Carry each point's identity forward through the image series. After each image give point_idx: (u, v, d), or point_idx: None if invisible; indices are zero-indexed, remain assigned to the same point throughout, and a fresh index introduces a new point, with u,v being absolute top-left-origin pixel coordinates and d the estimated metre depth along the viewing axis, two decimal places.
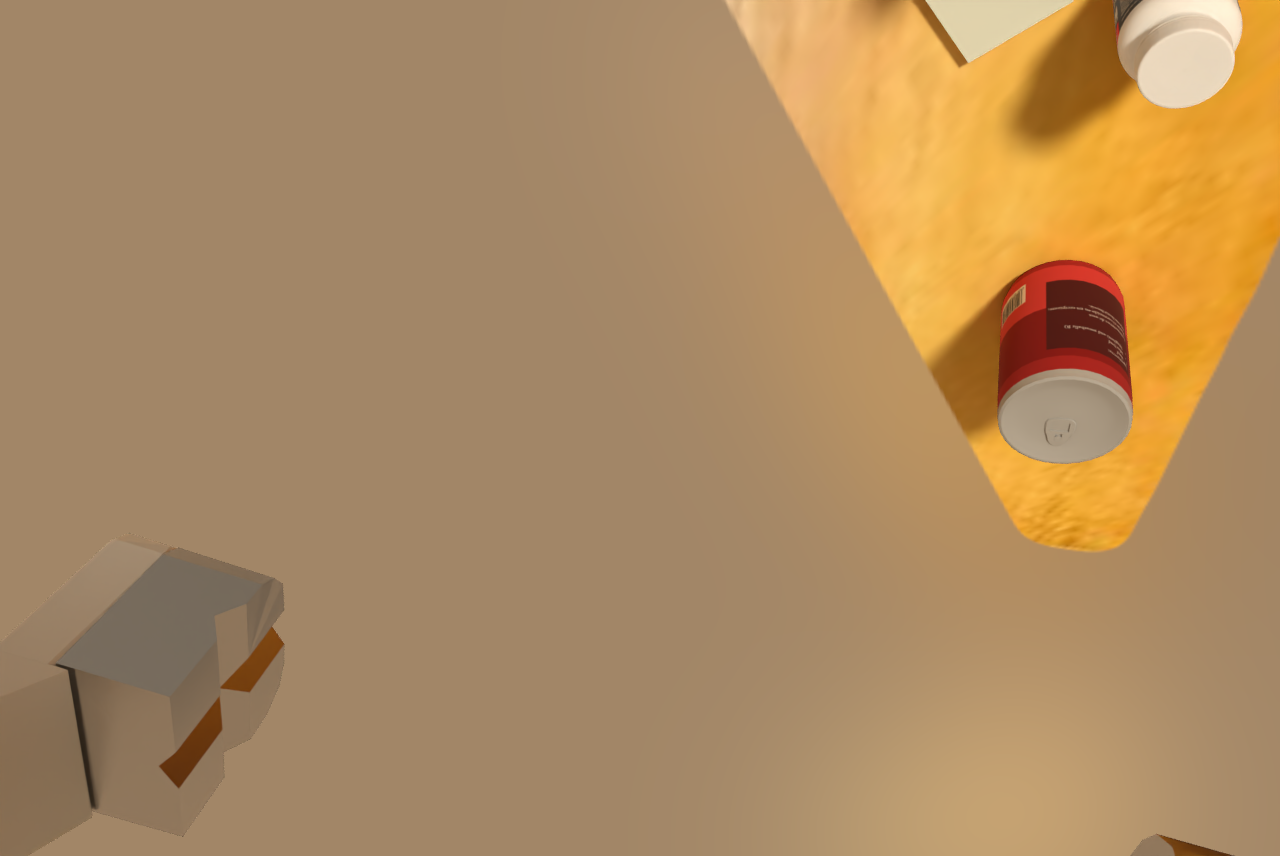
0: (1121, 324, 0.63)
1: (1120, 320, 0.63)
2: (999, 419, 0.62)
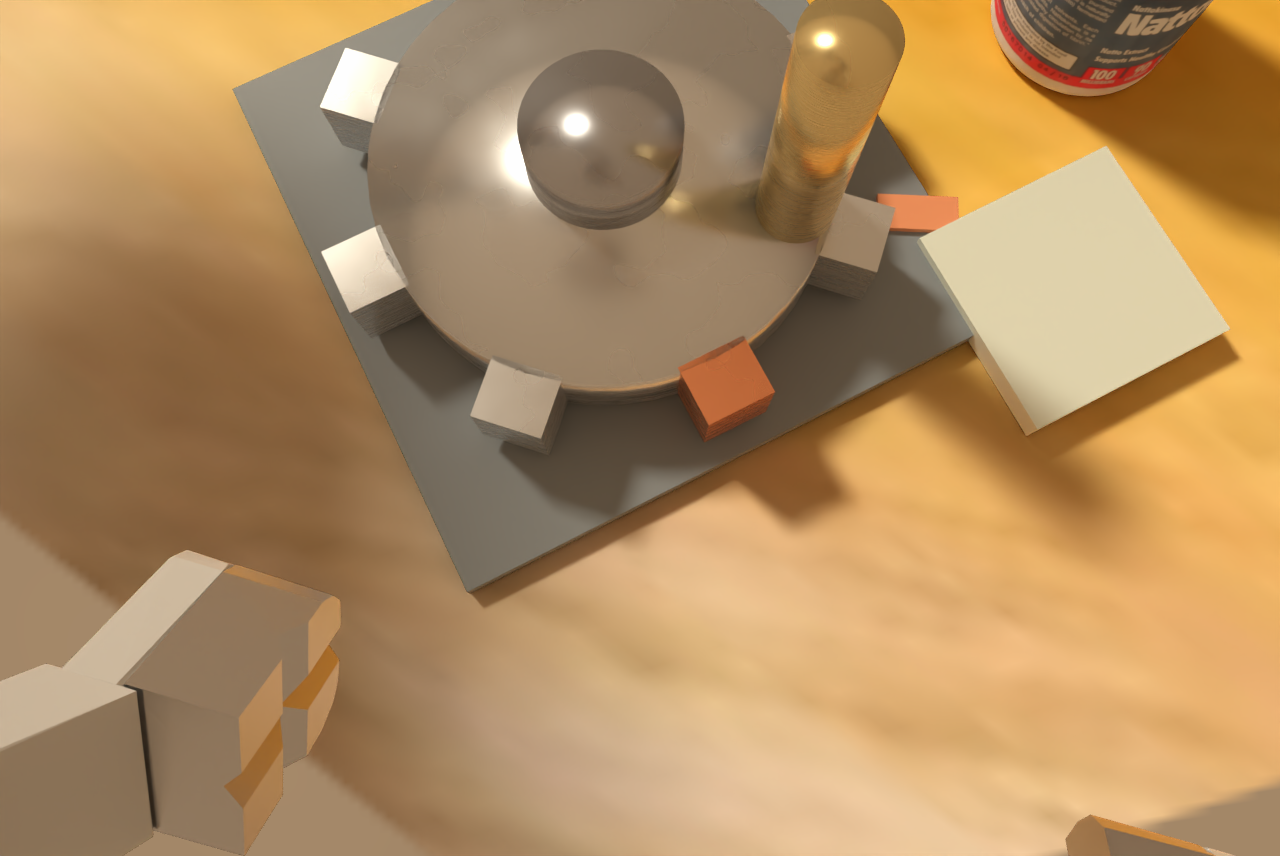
0: None
1: None
2: None
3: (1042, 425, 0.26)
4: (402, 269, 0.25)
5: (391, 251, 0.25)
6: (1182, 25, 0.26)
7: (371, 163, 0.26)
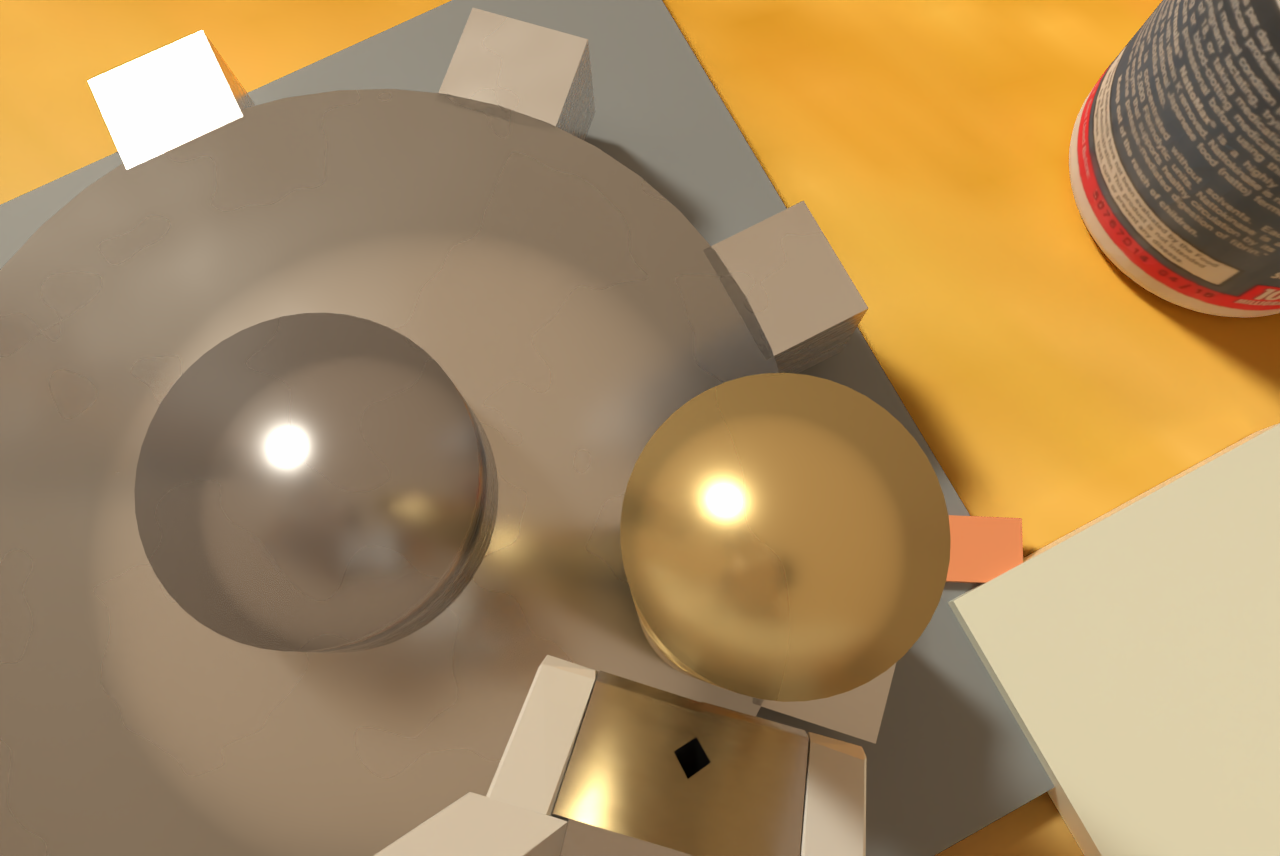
0: None
1: None
2: None
3: None
4: None
5: None
6: None
7: None
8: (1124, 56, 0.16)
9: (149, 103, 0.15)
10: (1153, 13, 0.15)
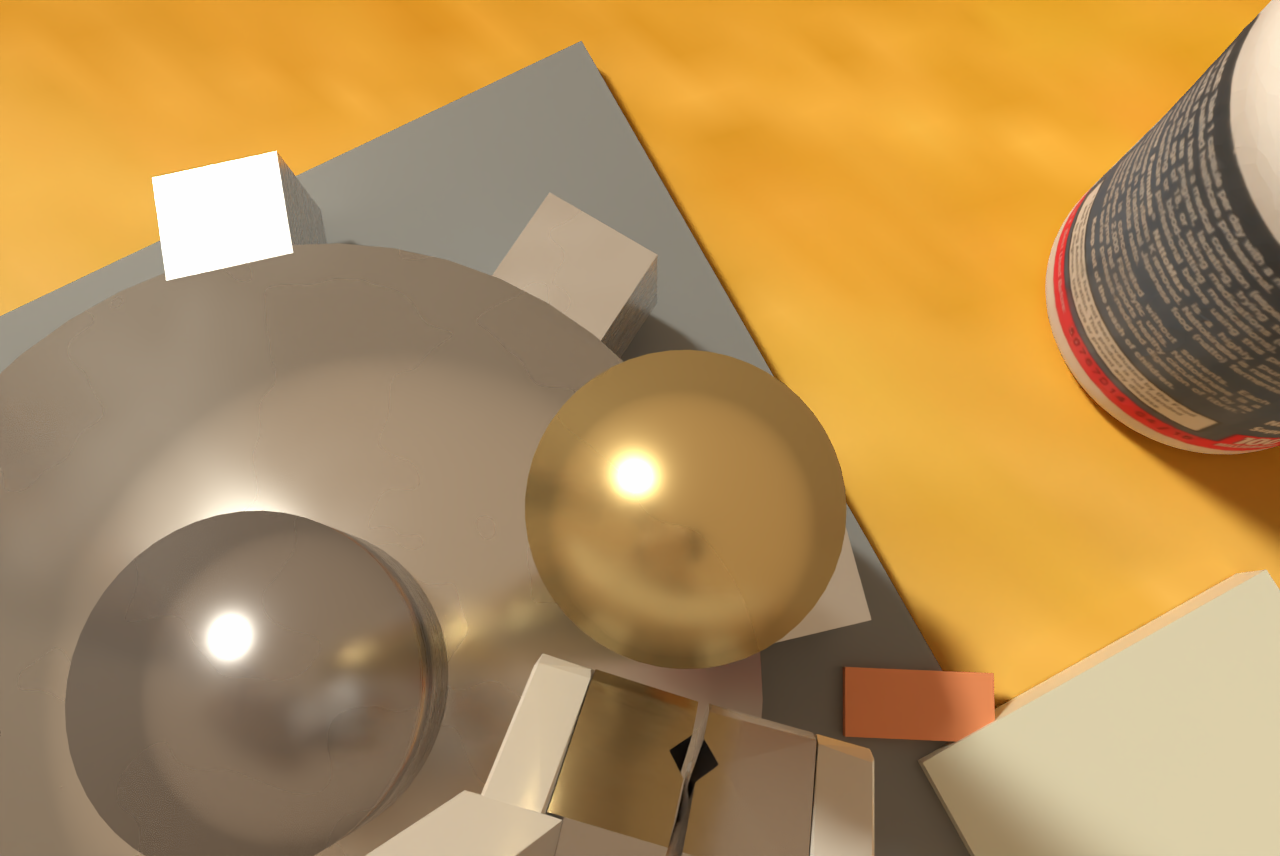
0: None
1: None
2: None
3: None
4: None
5: None
6: None
7: None
8: (1099, 195, 0.15)
9: None
10: (1128, 155, 0.15)
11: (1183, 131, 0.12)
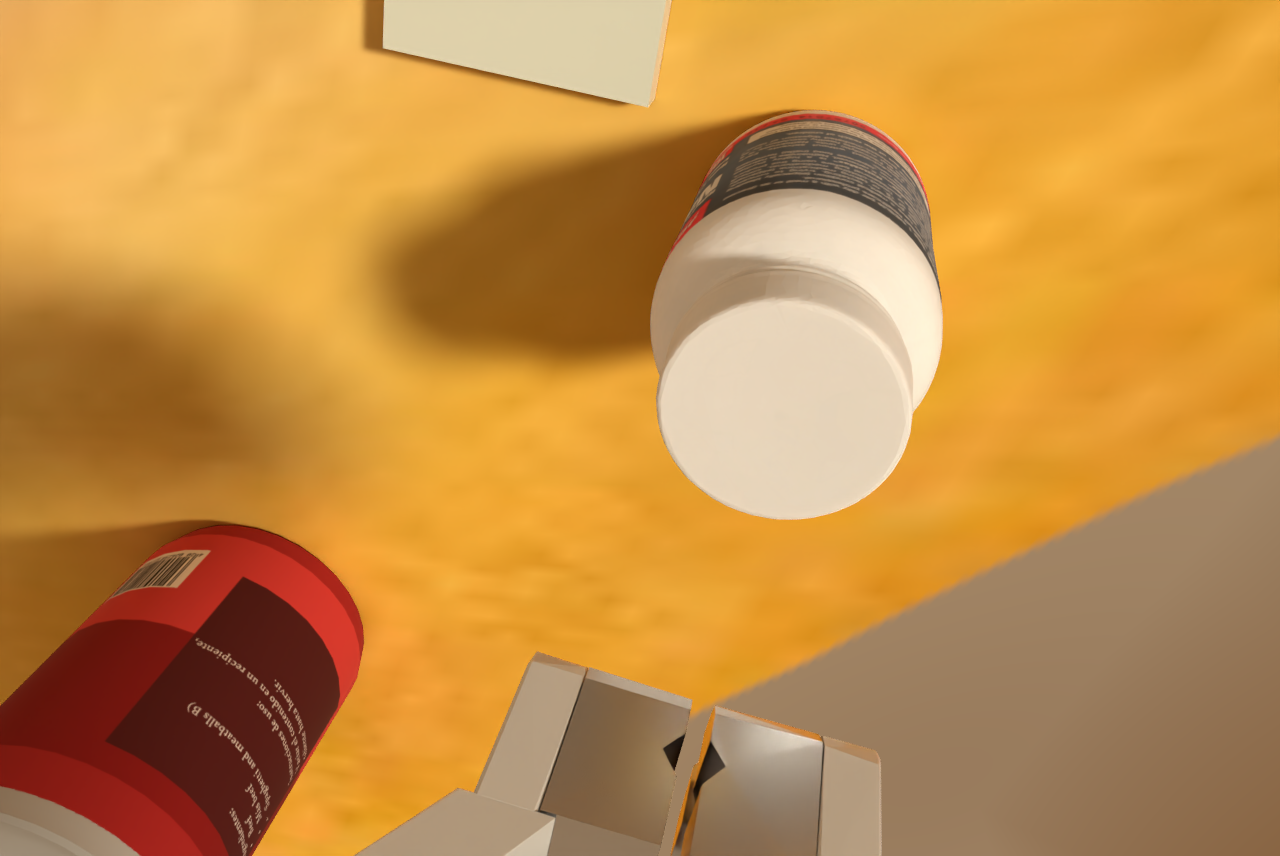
0: (308, 744, 0.29)
1: (312, 735, 0.29)
2: None
3: None
4: None
5: None
6: None
7: None
8: (924, 202, 0.20)
9: None
10: (930, 229, 0.20)
11: (919, 229, 0.18)
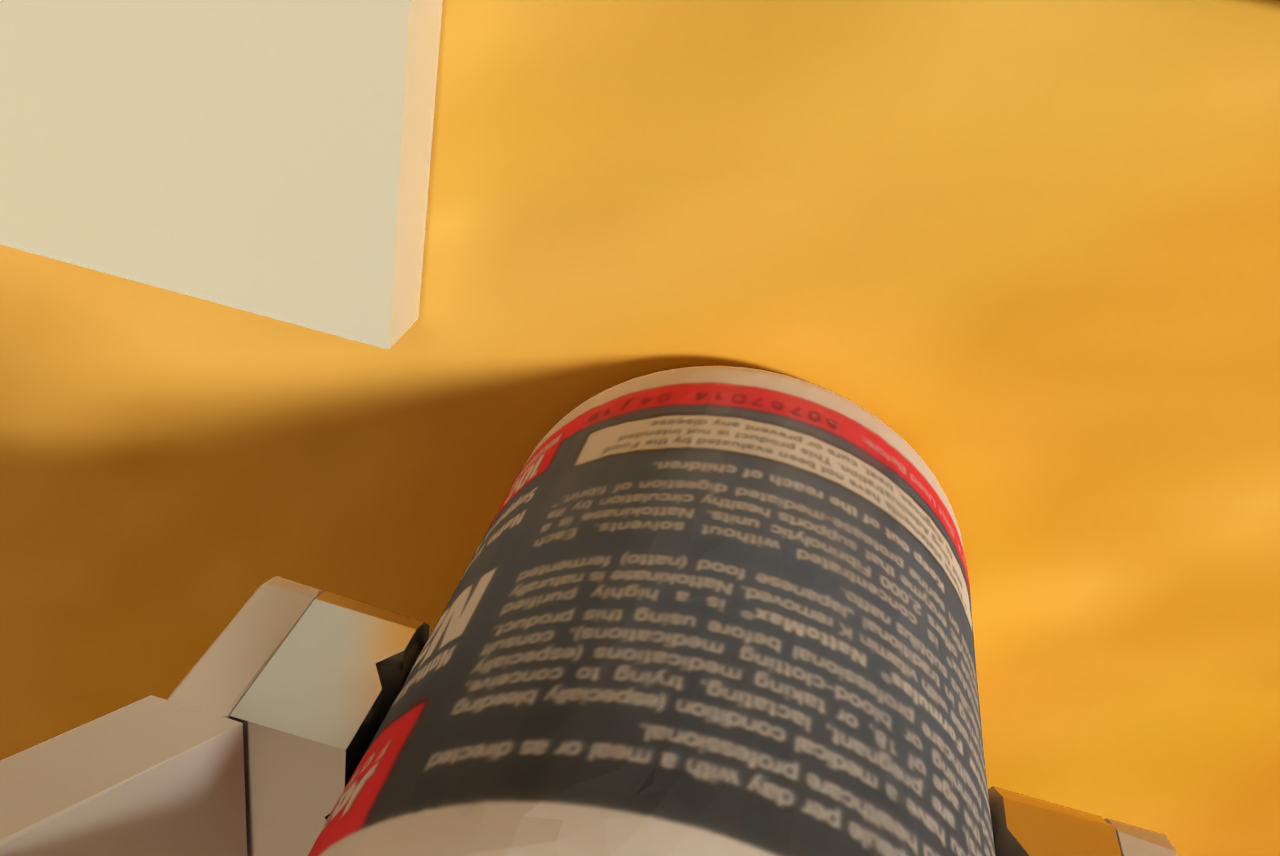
0: None
1: None
2: None
3: None
4: None
5: None
6: None
7: None
8: (962, 618, 0.09)
9: None
10: (977, 698, 0.09)
11: (963, 834, 0.07)
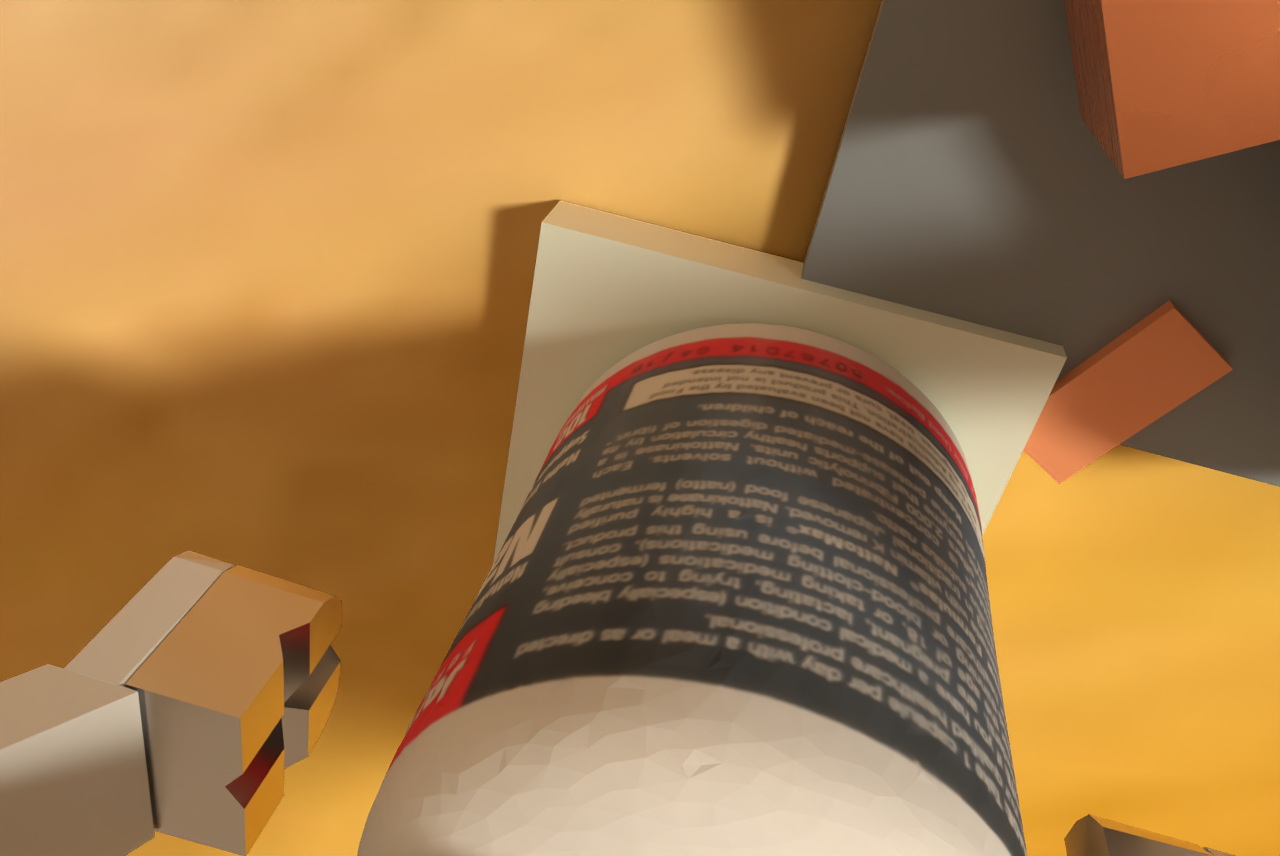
0: None
1: None
2: None
3: (541, 236, 0.12)
4: None
5: None
6: None
7: None
8: (977, 548, 0.10)
9: None
10: (991, 618, 0.10)
11: (983, 718, 0.08)
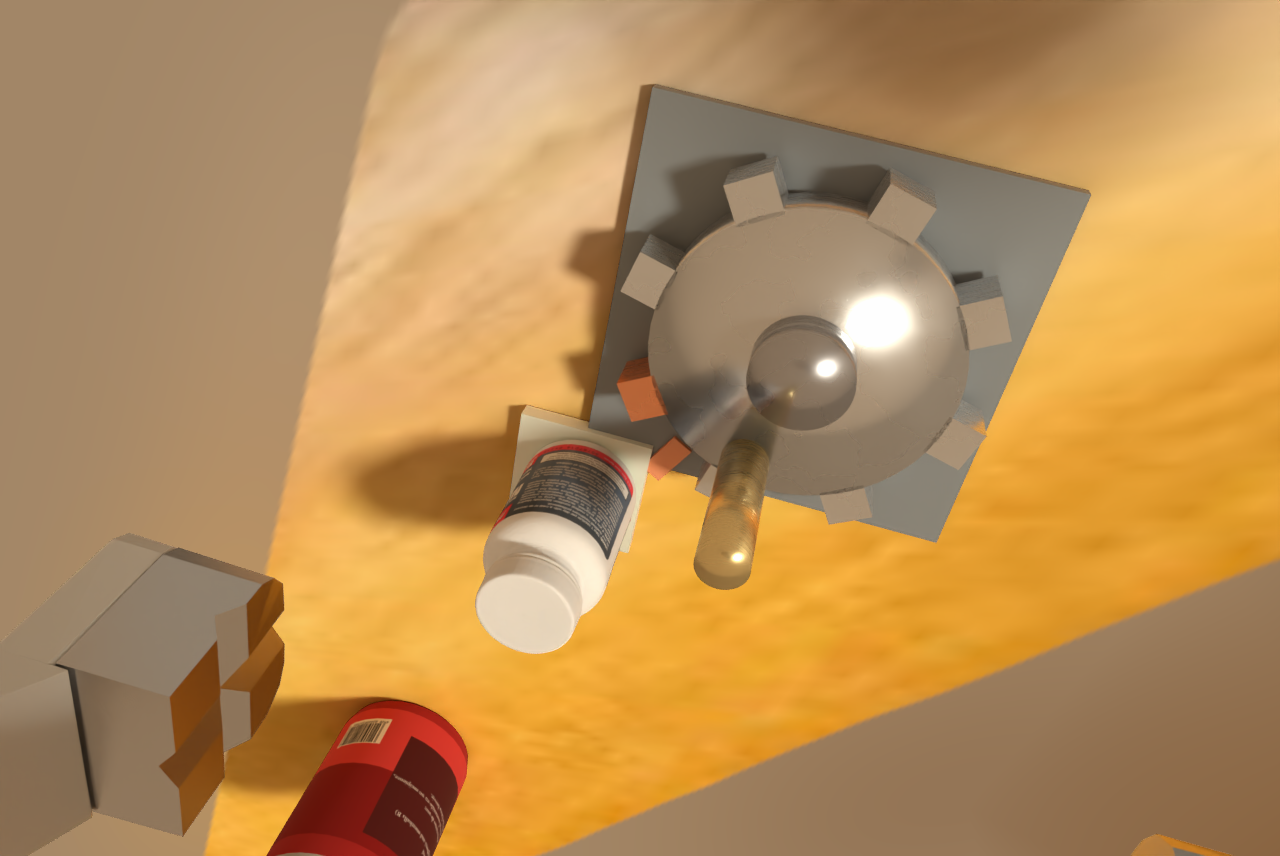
0: (444, 825, 0.55)
1: (446, 820, 0.55)
2: None
3: (521, 417, 0.45)
4: (748, 225, 0.36)
5: (763, 219, 0.36)
6: None
7: (834, 215, 0.35)
8: (620, 495, 0.43)
9: (983, 318, 0.36)
10: (620, 510, 0.43)
11: (601, 523, 0.41)
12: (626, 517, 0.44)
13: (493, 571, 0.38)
